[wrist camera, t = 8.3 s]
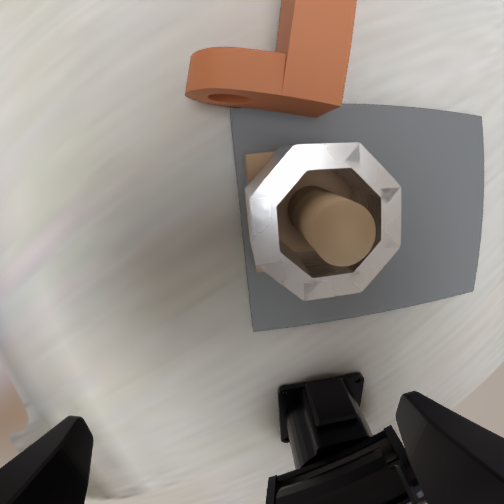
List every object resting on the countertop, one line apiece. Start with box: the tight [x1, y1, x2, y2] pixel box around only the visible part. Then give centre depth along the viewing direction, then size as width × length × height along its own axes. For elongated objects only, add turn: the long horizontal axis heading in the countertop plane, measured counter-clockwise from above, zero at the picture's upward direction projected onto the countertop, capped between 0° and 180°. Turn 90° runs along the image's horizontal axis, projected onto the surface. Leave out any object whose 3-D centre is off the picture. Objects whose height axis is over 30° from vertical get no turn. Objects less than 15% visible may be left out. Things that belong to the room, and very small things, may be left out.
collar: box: [245, 142, 401, 301], centre depth 14 cm, size 6×6×4 cm
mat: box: [230, 104, 484, 332], centre depth 18 cm, size 13×17×1 cm
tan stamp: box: [244, 151, 376, 272], centre depth 14 cm, size 6×6×6 cm
